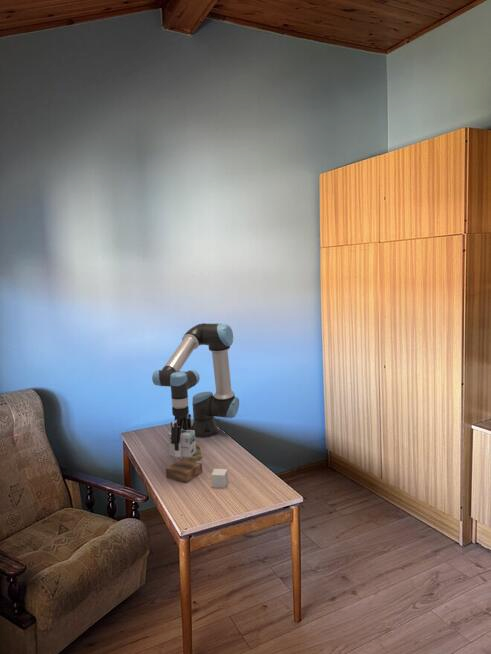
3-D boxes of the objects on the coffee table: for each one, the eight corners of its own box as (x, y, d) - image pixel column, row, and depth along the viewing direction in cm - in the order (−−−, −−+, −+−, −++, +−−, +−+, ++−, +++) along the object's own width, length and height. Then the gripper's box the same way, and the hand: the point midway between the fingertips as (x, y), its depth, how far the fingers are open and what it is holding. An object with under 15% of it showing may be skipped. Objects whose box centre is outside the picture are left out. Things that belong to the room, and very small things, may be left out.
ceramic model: (177, 453, 261) (176, 435, 259) (197, 448, 266) (196, 430, 264) (187, 463, 248) (185, 444, 247) (207, 458, 253) (206, 439, 252)
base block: (182, 468, 244) (181, 458, 243) (202, 473, 237) (201, 463, 237) (166, 478, 234) (165, 468, 233) (186, 484, 227) (186, 473, 227)
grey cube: (215, 481, 229) (214, 468, 228) (227, 481, 227) (227, 469, 226) (211, 487, 223) (211, 474, 222) (225, 488, 222) (224, 475, 221)
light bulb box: (196, 451, 235) (195, 429, 233) (190, 457, 229) (189, 435, 227) (175, 449, 238) (174, 428, 236) (169, 455, 232) (168, 433, 230)
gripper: (185, 398, 240) (187, 444, 244) (160, 412, 222) (163, 460, 226) (198, 400, 237) (200, 446, 241) (174, 413, 219) (178, 463, 223)
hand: (183, 453), depth 234 cm, fingers closed on light bulb box, 7 cm apart
